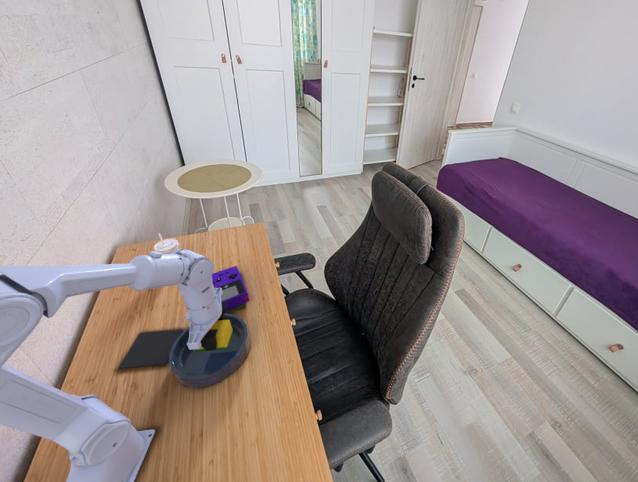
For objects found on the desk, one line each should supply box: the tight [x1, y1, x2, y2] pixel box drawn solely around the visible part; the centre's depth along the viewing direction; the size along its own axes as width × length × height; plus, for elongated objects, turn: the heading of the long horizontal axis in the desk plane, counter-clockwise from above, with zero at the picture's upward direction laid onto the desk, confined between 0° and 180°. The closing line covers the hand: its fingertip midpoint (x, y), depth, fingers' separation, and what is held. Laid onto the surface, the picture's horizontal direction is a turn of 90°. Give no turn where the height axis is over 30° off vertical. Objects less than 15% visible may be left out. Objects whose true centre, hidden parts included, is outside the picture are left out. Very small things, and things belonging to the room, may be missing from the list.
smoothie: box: [153, 232, 180, 254], centre depth 89 cm, size 6×6×14 cm
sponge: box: [195, 320, 233, 352], centre depth 66 cm, size 4×7×5 cm, turn 98°
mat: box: [118, 328, 184, 370], centre depth 69 cm, size 9×10×1 cm
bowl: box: [168, 313, 251, 389], centre depth 68 cm, size 16×16×4 cm
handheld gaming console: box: [212, 265, 250, 314], centre depth 84 cm, size 9×5×15 cm
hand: (215, 338), depth 67 cm, fingers closed on sponge, 4 cm apart
